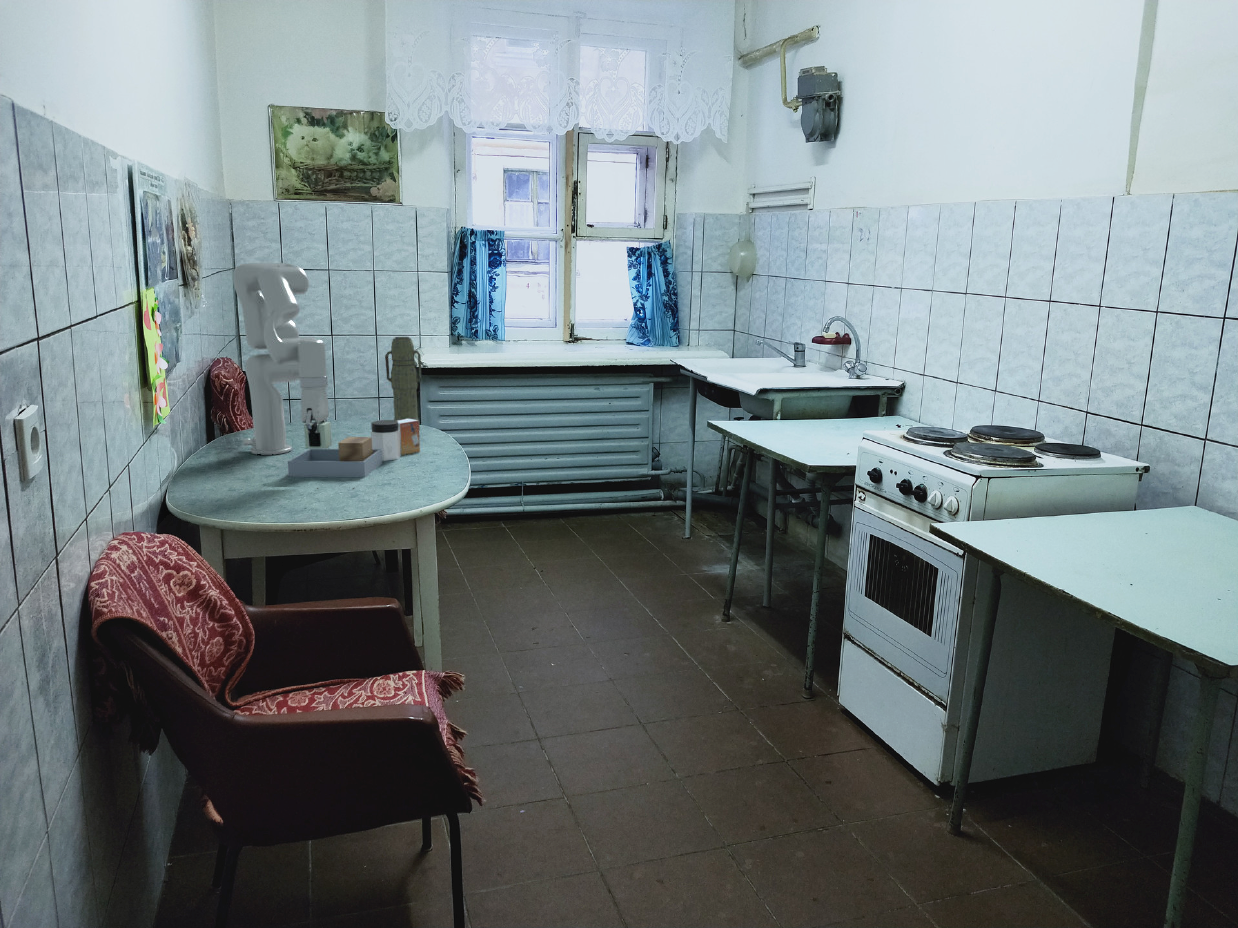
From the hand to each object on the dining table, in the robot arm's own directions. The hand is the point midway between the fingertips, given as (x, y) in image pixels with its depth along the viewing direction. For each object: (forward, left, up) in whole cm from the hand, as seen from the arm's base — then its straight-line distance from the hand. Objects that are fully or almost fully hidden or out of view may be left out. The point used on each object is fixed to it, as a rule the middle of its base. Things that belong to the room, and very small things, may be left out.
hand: (318, 443), depth 266 cm
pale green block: (0, 0, -1) cm, 1 cm away
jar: (+15, +17, -9) cm, 24 cm away
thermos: (+12, +53, -9) cm, 55 cm away
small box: (+18, +28, -9) cm, 35 cm away
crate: (+5, 0, -9) cm, 10 cm away
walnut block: (+11, 0, -8) cm, 13 cm away
